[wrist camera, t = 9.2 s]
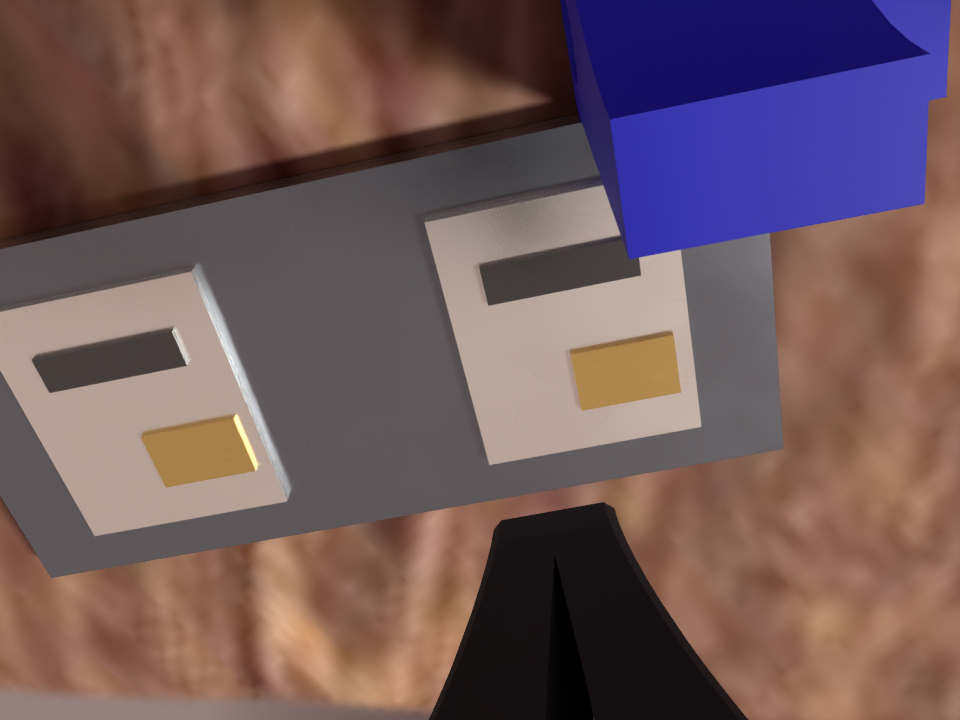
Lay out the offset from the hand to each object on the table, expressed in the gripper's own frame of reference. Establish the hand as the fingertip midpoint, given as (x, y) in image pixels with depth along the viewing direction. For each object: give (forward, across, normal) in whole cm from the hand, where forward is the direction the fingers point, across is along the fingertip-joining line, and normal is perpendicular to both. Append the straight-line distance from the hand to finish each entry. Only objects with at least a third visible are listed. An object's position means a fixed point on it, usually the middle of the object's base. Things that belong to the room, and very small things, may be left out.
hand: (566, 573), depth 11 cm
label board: (+6, +3, 0) cm, 7 cm away
